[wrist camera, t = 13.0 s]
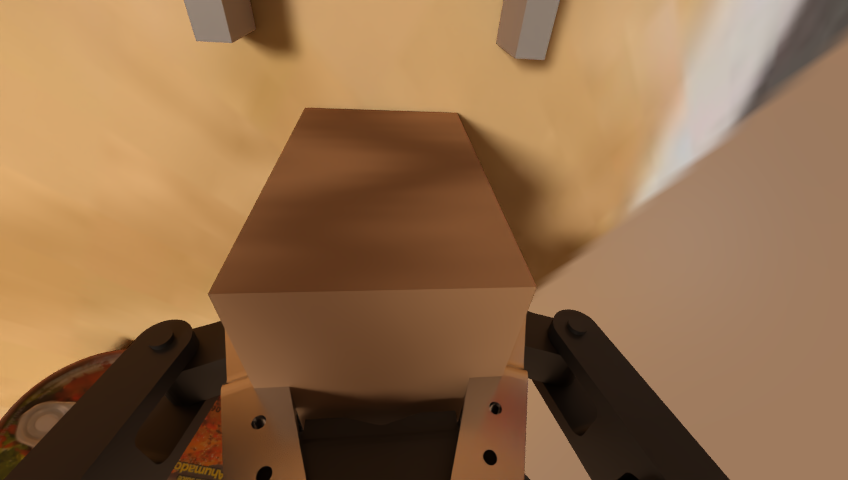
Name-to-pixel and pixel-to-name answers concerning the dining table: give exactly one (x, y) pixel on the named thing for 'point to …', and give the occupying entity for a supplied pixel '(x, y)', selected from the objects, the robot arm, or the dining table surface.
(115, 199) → the dining table surface
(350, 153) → the block
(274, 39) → the dining table surface
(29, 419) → the tin
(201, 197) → the dining table surface
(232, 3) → the channel
